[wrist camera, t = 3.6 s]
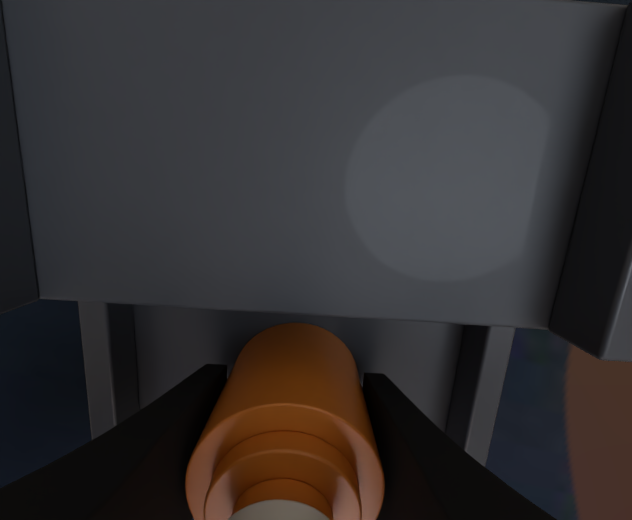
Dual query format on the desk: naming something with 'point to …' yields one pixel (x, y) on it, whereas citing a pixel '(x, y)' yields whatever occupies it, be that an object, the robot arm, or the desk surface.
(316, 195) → the rack
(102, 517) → the robot arm
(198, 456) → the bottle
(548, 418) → the desk surface
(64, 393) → the desk surface
